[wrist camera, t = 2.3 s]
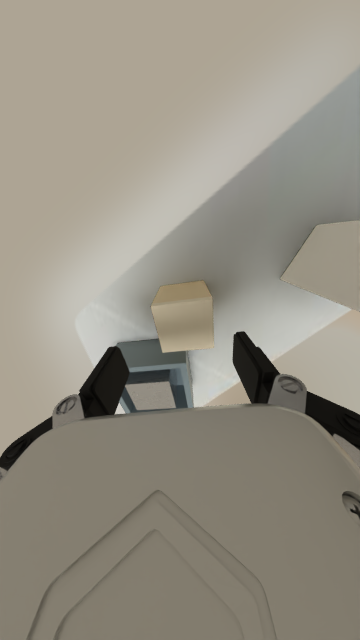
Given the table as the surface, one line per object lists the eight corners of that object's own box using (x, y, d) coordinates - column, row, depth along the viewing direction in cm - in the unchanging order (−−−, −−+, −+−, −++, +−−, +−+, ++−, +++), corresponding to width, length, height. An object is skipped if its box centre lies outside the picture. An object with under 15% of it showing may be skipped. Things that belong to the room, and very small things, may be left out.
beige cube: (203, 280, 18) (212, 298, 12) (205, 318, 21) (214, 348, 15) (160, 285, 18) (150, 306, 13) (168, 322, 21) (162, 352, 15)
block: (171, 354, 23) (169, 381, 18) (177, 379, 26) (175, 407, 21) (135, 357, 23) (124, 384, 19) (144, 381, 26) (137, 410, 22)
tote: (185, 336, 22) (186, 362, 17) (192, 382, 27) (194, 412, 23) (117, 343, 23) (100, 370, 18) (136, 386, 28) (127, 416, 24)
